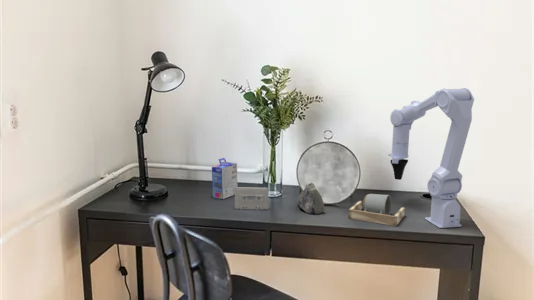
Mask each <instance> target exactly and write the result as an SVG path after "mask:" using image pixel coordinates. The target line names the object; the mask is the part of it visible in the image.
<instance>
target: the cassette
mask: <svg viewBox="0 0 534 300" xmlns="http://www.w3.org/2000/svg"><path fill="white" fill-rule="evenodd" d="M269 192H270V191H269V187H248V186H247V187H244V186H243V187H242V186H240V187H239V186H238V187H235V195H234V209H235V210H237V209H238V210H269ZM249 197H255V198H249ZM258 197H259V198H258Z"/></svg>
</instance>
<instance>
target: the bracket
mask: <svg viewBox="0 0 534 300" xmlns="http://www.w3.org/2000/svg"><path fill="white" fill-rule="evenodd" d="M347 216H348V217H347V218H348V219H350V220H355V221H356V220H358V221H363V222H370V223H374V224H381V225H388V226H392V227H397V226H398V225H399V223H400V222H401V221H402V219H403V218H404V217H405V207H403V206H402V207H400V209H399V210H398V211H397V212H396V213H395V214H394V215H391V214H389V215H385V214H379V213H372V212H366V211H364V210H363V200H359V201H357V202H356V203H354V205H353V206H351V207H350V208H349V209H348V215H347Z"/></svg>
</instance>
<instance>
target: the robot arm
mask: <svg viewBox="0 0 534 300" xmlns="http://www.w3.org/2000/svg"><path fill="white" fill-rule="evenodd" d="M474 101H475V98H474V95H473V94H472V92H471V91H470V90H469V88H466V87H463V88H442V89H440V90H437V91H435V92H434V93H433V94H432V95H430V96H429V97H428V98H426V99H424V100H422V101H419V100H418V101H417V100H412V101H410V104H409V105H406V106H403V107H402V108H401V109H397V108H396V109H394V110H393V111H391V113H390V123H391V124H392V127H393V128H392V141H391V142H392V143H391V144H392V145H391V152H389V153H388V154H387V155H388V156H389V157H391V160H390V165H391V167H392V170H393V175H394V179H395V180H401V181H402V178H403V175H404V172H405V168H406V166H407V164H408V162H409V159H408V158H409V142H410V131H411V129H412V125H413V123H414V122H415V121H416V120H419V119H421V118H424V116H425V115H426V113H427V112H428V111H429V110H432V109H435V108H437V107H438V108H439V109H440V110H441V111H442V112H443V113H444V114H445V116H446V117H448V118H449V119H450V120H451V121H450V122H451V123H450V127H449V131H448V134H447V139H446V143H445V146H444V149H443V153H442V157H441V161H440V164H439V167H437V169H435V170H434V171H433V172H432V174H431V176H430V178H429V179H428V180H427V192H428V193H429V194H430V195H429V196H431V206H430V216H429V217H427V216H426V217H425V218H424V220H426V221H427V222H429V223H431V224H432V225H434V226H435V227H438V228H440V229H444V228H460V227H462V225H463V224H461V223H460V221H461V211H462V209H461V205H460V204H459V203H458V202H457V200H456V198H457V197H458V194H459V193H460V192H461V191H462V187H463V184H462V179H463V174H462V173H461V172H460V171H459V167H460V163H461V159H462V156H463V152H464V149H465V145H466V142H467V138H468V134H469V130H470V128H471V123H472V119H473V112H472V111H473V110H472V109H473V105H474Z"/></svg>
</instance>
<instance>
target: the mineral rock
mask: <svg viewBox="0 0 534 300" xmlns="http://www.w3.org/2000/svg"><path fill="white" fill-rule="evenodd" d="M296 201H297V203H298V204H297V205H298V206H299V208H301V209H302V211H304V212H306V213H307V214H310V215H312V214H314V215H319V214H321V213H324V212H325V202H324V200H323V197H322V195H321V193H320V192H319V191H318V189H317V187H316V185H315V184H314V182H310V183H308V184H307V185H305V187H304V189H303V190H302V192H300V193H299V195H298V198H297V199H296Z"/></svg>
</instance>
